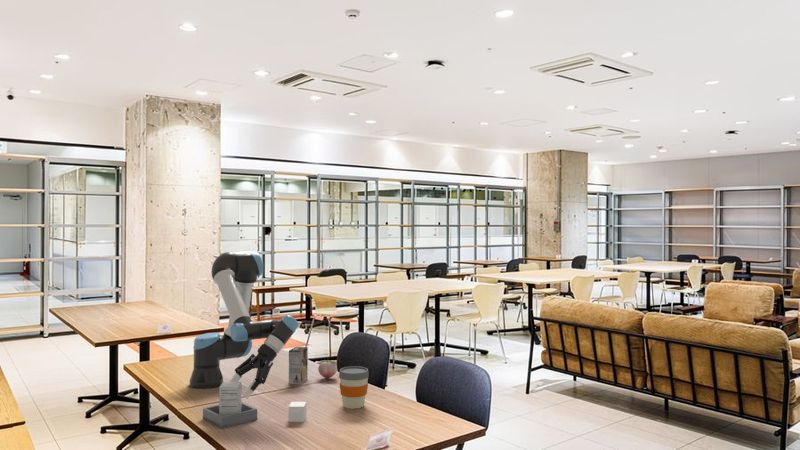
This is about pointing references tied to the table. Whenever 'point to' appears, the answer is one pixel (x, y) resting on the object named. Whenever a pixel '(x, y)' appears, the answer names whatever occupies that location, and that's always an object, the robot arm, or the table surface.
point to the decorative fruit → (327, 368)
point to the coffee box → (298, 365)
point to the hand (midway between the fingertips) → (236, 392)
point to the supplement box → (229, 398)
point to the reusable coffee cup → (353, 386)
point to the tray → (229, 416)
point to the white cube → (297, 412)
